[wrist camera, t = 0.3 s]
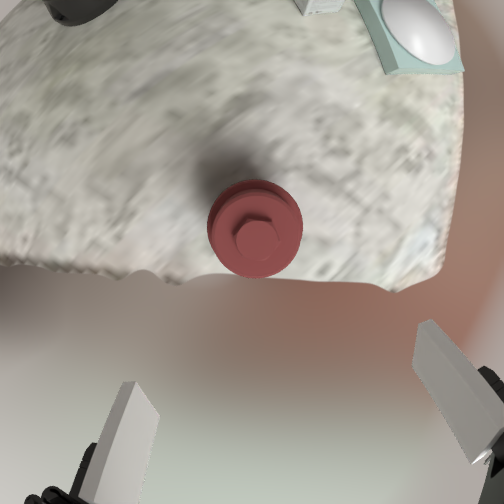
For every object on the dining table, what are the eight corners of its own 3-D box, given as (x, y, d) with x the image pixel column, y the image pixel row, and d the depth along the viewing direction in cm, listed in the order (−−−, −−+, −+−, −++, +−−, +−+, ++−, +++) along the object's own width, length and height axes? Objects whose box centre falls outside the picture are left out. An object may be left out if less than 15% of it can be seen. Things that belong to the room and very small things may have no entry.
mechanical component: (259, 263, 39) (200, 220, 37) (306, 207, 36) (246, 159, 34) (265, 309, 27) (179, 250, 25) (333, 231, 25) (247, 160, 22)
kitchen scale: (352, -2, 25) (364, -17, 21) (423, 5, 24) (437, -4, 20) (385, 74, 30) (402, 66, 25) (452, 75, 29) (470, 70, 24)
